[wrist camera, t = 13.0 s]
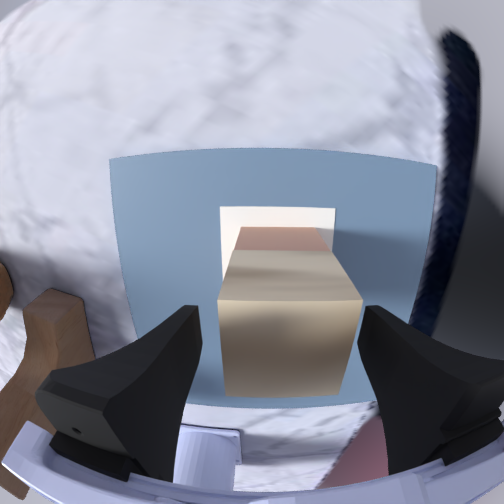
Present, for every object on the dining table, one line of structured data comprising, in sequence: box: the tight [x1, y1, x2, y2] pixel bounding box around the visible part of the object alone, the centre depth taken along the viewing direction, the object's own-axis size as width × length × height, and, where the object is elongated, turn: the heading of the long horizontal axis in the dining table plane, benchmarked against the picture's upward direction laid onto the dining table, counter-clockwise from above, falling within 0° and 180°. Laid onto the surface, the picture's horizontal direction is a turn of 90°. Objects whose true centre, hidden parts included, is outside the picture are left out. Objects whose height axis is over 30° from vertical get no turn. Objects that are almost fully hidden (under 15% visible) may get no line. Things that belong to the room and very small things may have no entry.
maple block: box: [217, 250, 363, 398], centre depth 11 cm, size 4×4×4 cm
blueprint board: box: [109, 148, 437, 408], centre depth 19 cm, size 22×22×1 cm
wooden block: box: [0, 288, 95, 500], centre depth 13 cm, size 9×4×18 cm, turn 171°
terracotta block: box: [234, 227, 330, 251], centre depth 15 cm, size 4×4×4 cm
